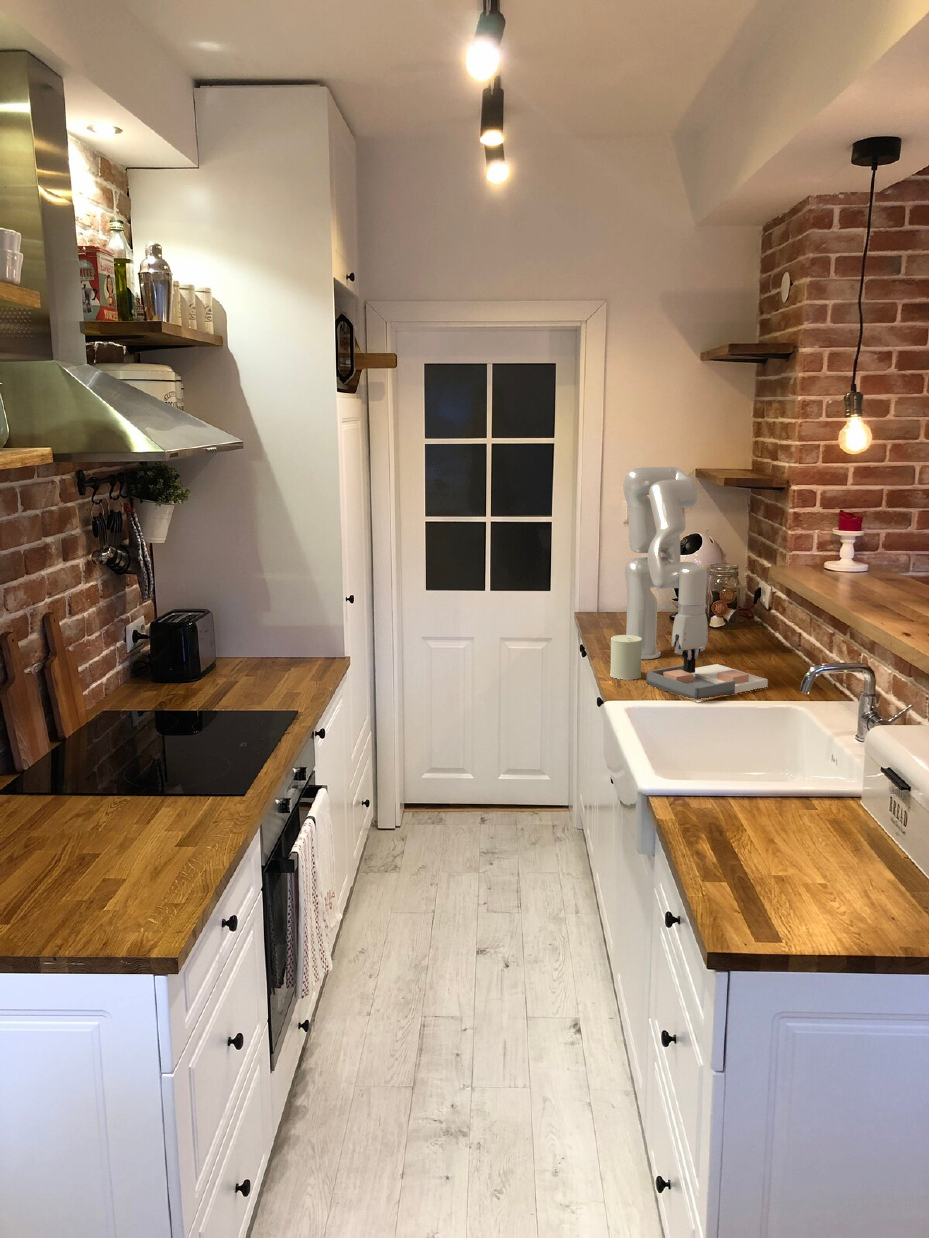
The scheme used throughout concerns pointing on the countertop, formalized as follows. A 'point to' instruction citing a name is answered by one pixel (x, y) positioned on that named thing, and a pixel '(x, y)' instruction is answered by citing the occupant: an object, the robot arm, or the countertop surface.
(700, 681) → the tray
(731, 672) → the tile
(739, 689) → the plate
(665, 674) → the tile
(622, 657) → the can
